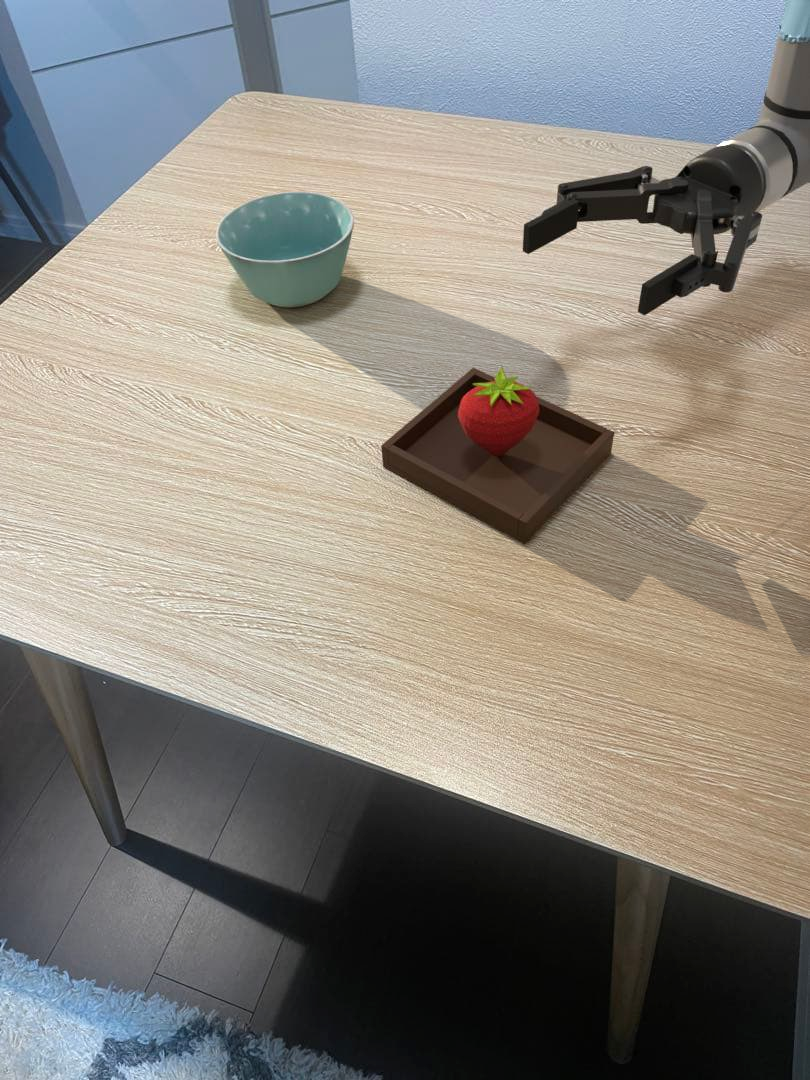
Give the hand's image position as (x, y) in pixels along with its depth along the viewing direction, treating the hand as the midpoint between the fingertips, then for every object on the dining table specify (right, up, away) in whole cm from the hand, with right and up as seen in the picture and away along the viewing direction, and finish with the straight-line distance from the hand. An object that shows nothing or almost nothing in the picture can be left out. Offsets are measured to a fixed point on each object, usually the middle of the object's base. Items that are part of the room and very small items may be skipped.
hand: (581, 268), depth 80 cm
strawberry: (-7, -16, +8) cm, 19 cm away
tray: (-7, -16, +9) cm, 19 cm away
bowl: (-29, +7, +30) cm, 42 cm away
